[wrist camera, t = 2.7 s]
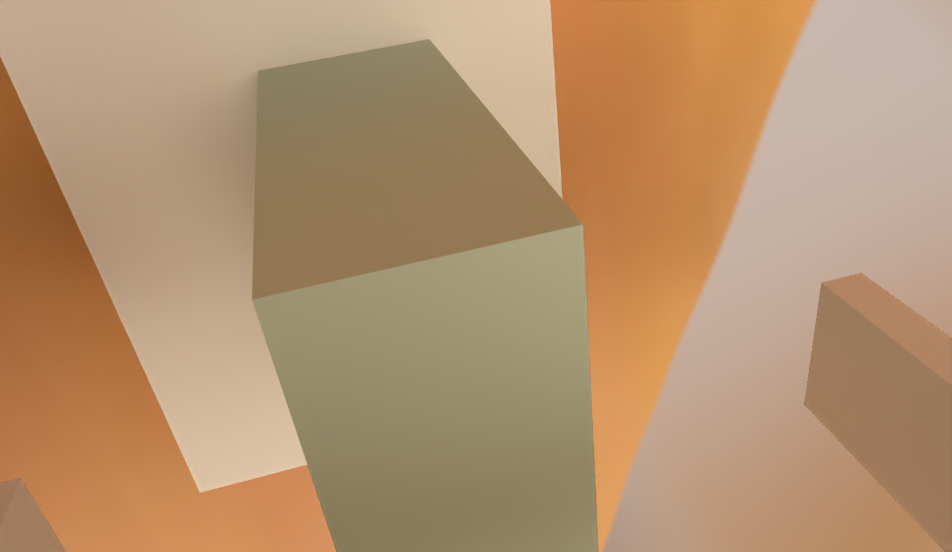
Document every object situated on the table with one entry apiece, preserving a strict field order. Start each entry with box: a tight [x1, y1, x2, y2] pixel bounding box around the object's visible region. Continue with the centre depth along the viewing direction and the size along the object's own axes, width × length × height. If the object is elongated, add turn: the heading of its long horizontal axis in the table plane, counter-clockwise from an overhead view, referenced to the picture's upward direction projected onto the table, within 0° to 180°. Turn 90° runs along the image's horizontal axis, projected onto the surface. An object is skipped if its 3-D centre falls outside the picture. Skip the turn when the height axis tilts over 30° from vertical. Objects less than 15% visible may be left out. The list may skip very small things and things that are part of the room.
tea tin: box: [252, 39, 598, 552], centre depth 15 cm, size 8×4×10 cm, turn 6°
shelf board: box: [0, 0, 562, 493], centre depth 18 cm, size 18×12×4 cm, turn 6°
